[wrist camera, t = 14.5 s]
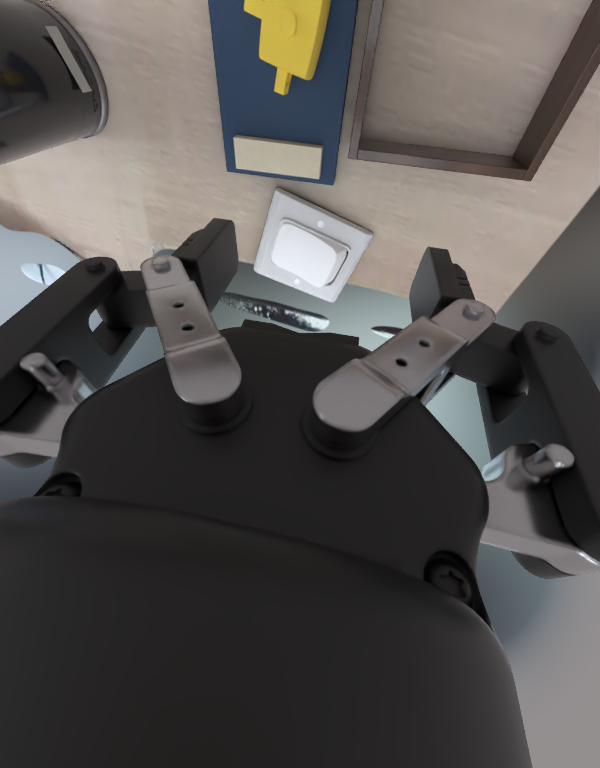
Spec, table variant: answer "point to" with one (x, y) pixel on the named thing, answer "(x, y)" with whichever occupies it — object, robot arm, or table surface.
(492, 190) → the table surface
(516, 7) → the table surface
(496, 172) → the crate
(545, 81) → the table surface
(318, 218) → the light switch
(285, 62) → the teapot
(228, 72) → the bed mat
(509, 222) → the table surface
